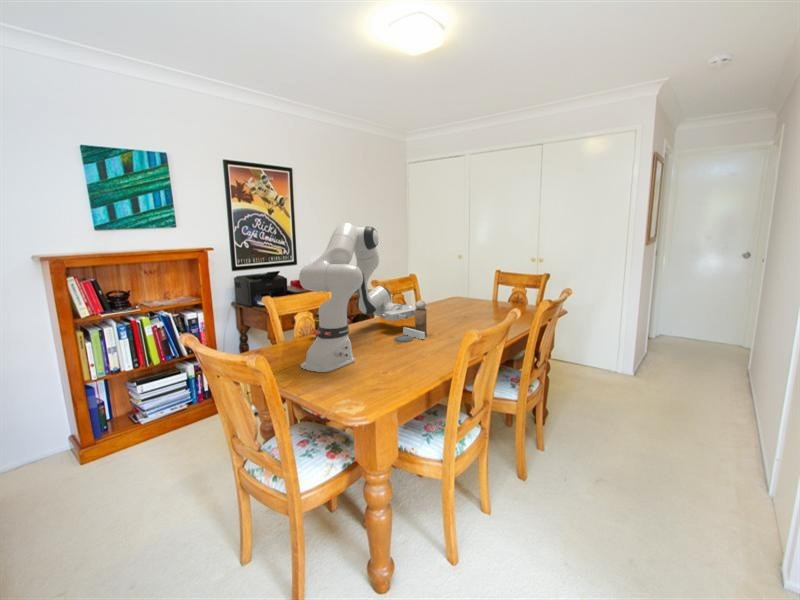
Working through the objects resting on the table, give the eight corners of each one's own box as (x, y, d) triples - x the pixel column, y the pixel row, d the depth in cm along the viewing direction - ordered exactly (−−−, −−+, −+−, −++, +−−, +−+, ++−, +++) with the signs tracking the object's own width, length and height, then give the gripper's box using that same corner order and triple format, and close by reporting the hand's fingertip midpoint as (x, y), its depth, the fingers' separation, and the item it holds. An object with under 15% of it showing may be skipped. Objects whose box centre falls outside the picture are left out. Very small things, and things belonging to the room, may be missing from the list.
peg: (423, 337, 192) (423, 301, 189) (413, 335, 195) (412, 300, 192) (428, 334, 197) (428, 299, 194) (418, 333, 200) (417, 298, 197)
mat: (408, 343, 183) (408, 341, 183) (391, 340, 187) (391, 339, 187) (416, 338, 191) (416, 336, 191) (399, 336, 195) (399, 334, 195)
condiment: (311, 338, 194) (310, 314, 192) (324, 334, 201) (322, 311, 199) (322, 340, 190) (320, 315, 188) (334, 336, 197) (333, 312, 195)
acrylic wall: (424, 339, 188) (424, 332, 187) (423, 340, 187) (423, 332, 187) (405, 333, 198) (404, 327, 198) (403, 334, 198) (403, 327, 197)
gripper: (379, 309, 201) (397, 313, 191) (408, 303, 214) (426, 306, 204) (379, 321, 202) (397, 325, 192) (408, 314, 215) (427, 318, 205)
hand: (413, 315), depth 198 cm, fingers open, 8 cm apart
